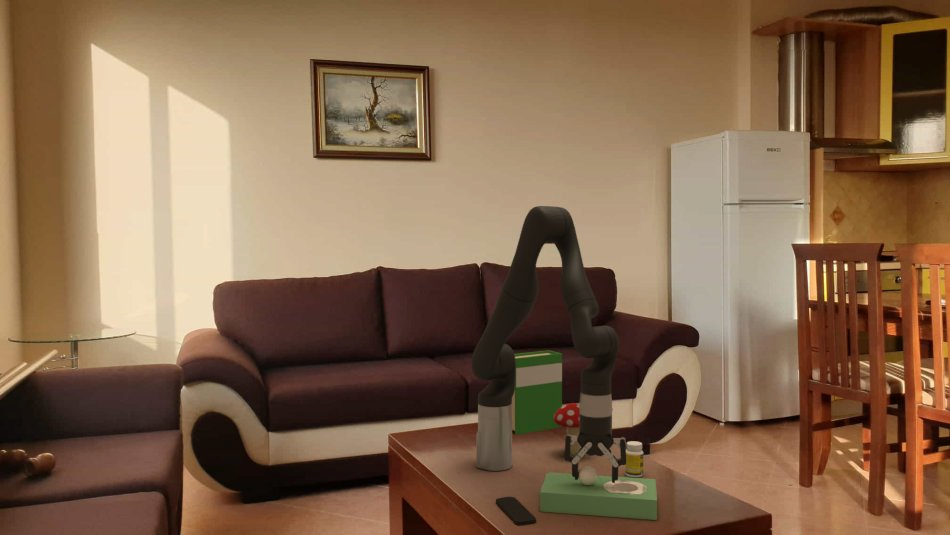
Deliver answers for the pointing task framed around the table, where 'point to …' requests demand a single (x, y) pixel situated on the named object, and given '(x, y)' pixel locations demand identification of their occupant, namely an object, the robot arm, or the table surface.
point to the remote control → (515, 511)
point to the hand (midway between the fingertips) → (595, 480)
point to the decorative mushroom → (569, 422)
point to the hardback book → (536, 391)
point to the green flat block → (600, 496)
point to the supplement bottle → (634, 459)
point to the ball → (587, 475)
